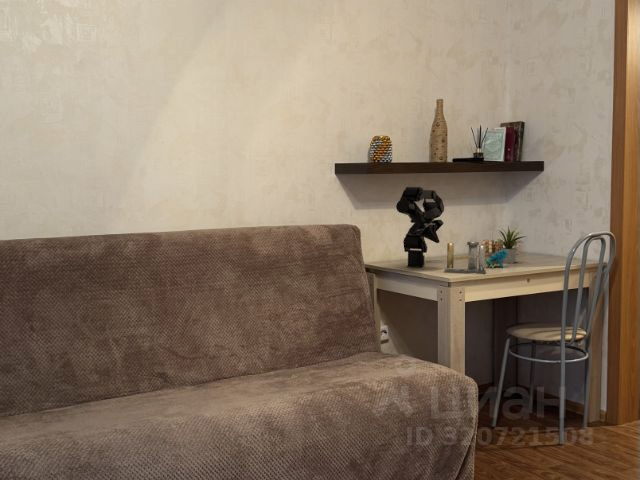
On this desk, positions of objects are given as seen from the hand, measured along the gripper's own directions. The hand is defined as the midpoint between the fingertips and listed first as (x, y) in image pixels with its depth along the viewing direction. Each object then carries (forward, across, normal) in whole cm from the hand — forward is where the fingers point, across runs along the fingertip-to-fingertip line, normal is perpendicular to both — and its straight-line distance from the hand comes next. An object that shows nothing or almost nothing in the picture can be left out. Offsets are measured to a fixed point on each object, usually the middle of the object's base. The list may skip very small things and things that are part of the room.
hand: (438, 242), depth 320 cm
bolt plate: (+16, +2, 0) cm, 16 cm away
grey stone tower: (+17, +9, 0) cm, 19 cm away
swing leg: (+12, +5, +2) cm, 13 cm away
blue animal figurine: (+17, +26, 0) cm, 31 cm away
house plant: (+15, +43, +2) cm, 46 cm away
